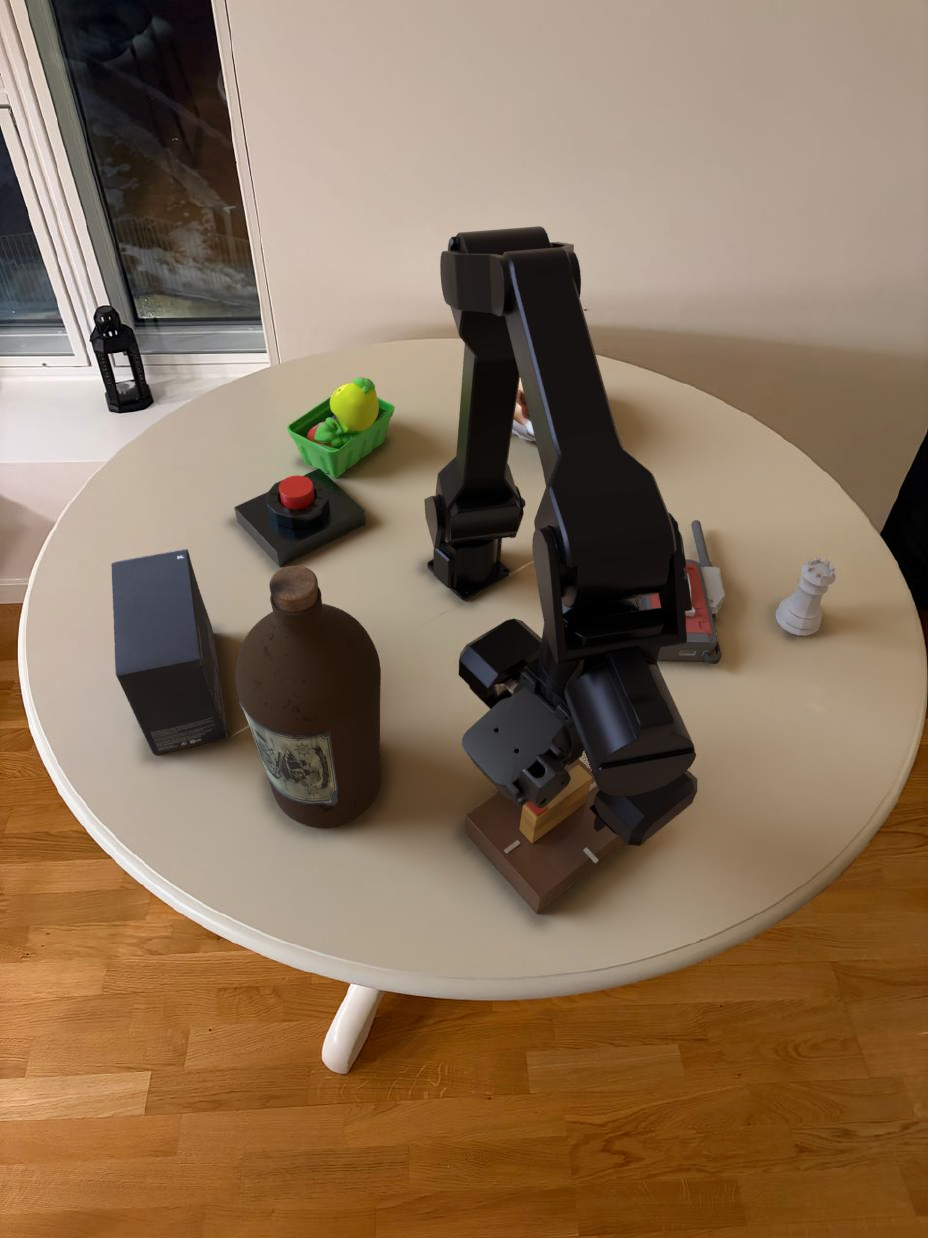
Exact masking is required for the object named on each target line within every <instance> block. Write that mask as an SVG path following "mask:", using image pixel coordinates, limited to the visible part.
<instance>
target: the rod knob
mask: <svg viewBox="0 0 928 1238" xmlns="http://www.w3.org/2000/svg"><path fill="white" fill-rule="evenodd" d="M569 774H570V776H571V780H570V782H569V784H568V785H567V786H566V787H565V788H564V789H563V790H562V791H561V792H560V793H559V794H558V795H557V796H556V797H555V798H554V799H553V800H552V801H551V802H550V803H548V804H547V805H546V806H545V807H543V808H537V807H536V806H535V805H534V804H533V803H532V802H527V803H526V804H525V805H523V808H522V815H521V822H520V828H519V830H520V831H521V832H522V833H523V834H524V835H525V837H526V838H527V839H528V840H529V841H530V842H531V843H534V842H535V841H537V840H538V839H539V838H540V837H542V836H543V835H544V834H546V833H547V832H548V831H550V830H551V829H552V828H554V827H555V826H556V825H558V824H559V823H560V822H562V821H563V820H564V819H565V818H567V817H568V816H569V815H571V814H572V813H573V812H575V811H576V810H577V809H579V808H580V807H581V806H583V805H584V804H585V803H586V801H587V797H588V793H589V789H590V785H591V781H592V776H591V775H590V774H588V773H587V772H586V771H585V770H584V769H583V768H582V767H581V766H580V765H579V764H578V765H577V766H576V767H574V768H573V769H571V770H570V771H569Z"/></svg>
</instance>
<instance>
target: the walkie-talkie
mask: <svg viewBox="0 0 928 1238" xmlns="http://www.w3.org/2000/svg"><path fill="white" fill-rule="evenodd" d="M690 526H691V531H692V535H693V538H694V544H695V547H696V551H697V552H696V553H697V555H698V560H699V562H698V561H696V560H694V559H691V558H689V559H688V558H685V559H686V567H687V574H688V582H689V589H690V597H691V604H692V610H690V611H685V614H686V631H687V642H686V644H680V645H674V646H668V647H661V648H660V652H659V655H658V659H657V661H702V662H703V661H704V662H706V664H709V665H713V666H714V665H717V664H719V663H720V661H721V659H722V651H721V646H720V642H719V637H718V633H717V629H716V625H715V622H716V621H717V617H718V614H719V610H720V609H721V608H722V606H723V603H724V601H725V597H726V592H725V588H724V584H723V581H722V577H721V575H722V570H721V567H720V566H714V565H713V562H712V561H711V559H710V556H709V552H708V548H707V544H706V543H707V542H706V539H705V536H704V532H703V527H702V524H701V521H700V520H698V519H694V520H692V521H691V524H690ZM637 602H638V605H639V608H640V611H641V610H647V609H654V608H661V605H660V600H659V595H658V594H657V595H651V596H644V597H637ZM714 653H715V657H713V656H714Z"/></svg>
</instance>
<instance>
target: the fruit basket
mask: <svg viewBox="0 0 928 1238" xmlns="http://www.w3.org/2000/svg"><path fill="white" fill-rule="evenodd" d="M395 409H396V406H395V405H394V404H392V403H390V402H388V401H385V400H384V399H382V398H380V397H378V395H377V391H376V385H375V383H374V382H373V380H371V379H370V378H367V377H362V376H361V377H360V376H359V377H356V378H355V379H354V380H352V382H348V383H345V384H343V385H341V386H339V387H337V388H336V389H335V390H334V391H333V393H332V394H331V396H329V397H328V398H326V399H324V400H323V401H322V402H321V403H319V404H318V405H316V406H314V407H313V408H312V409H310V410H309V411H307V412H305V413H304V414H303V415H300V417H298V418H296V420H293V421H292V422H291V423H289V424H288V425H287V426H286V431H287V433H288V434H289V436H290V438H292V439H293V442H294V443H295V446H296V447H297V448H296V449H297V450H298V452H299V454H300V456H301V458H302V460H303V462H304V463H305V464H307V465H311V466H312V467H313V468H315V469H316V470H317V469H319V468H320V469H321V470H322V471H323V472H324V473H325V474H327V475H330V476H331V477H332V478H334V479H338V478H339V477H340V476H342V475H343V474H344V473H345V472H346V470H348V469H351V468H352V467H353V466H355V465H356V464H357V463H358V462H359V461H360V460H361V459H363V458H365V457H366V456H368V455H369V454H370V453H372V452H373V450H374V449H376V448H378V447H379V446H381V445H382V444H383V443H384V442H385V439H386V436H387V433H388V432H387V431H388V429H389V425H390V421H391V419H392V417H393V415H394V412H395Z"/></svg>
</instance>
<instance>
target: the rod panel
mask: <svg viewBox="0 0 928 1238" xmlns="http://www.w3.org/2000/svg"><path fill="white" fill-rule="evenodd" d="M578 764H579V765H580V766H581V767H582V768H583V769H584V770H585V771H586V772H587V773H588V774H590V775H591V776H592V781H591V785H590V789H589V793H588V797H587V801H586V803H585V804H584V805H583V806H581V807H580V808H579V809H577V810H576V811H575V812H573V813H572V814H571V815H569V816H568V817H567V818H565V819H564V820H563V821H562V822H560V823H559V824H558V825H556V826H555V827H554V828H552V829H551V830H550V831H548V832H547V833H546V834H544V835H543V836H542V837H540V838H539V839H538V840H537V841H535V842H534V843H531V842H530V841H529V840H528V839H527V838H526V837H525V835H524V834H523V833H522V832H521V831H520V830H519V828H520V822H521V815H522V808H523V806H522V807H519V806H518V805H517V804H516V803H515V802H514V801H513V800H512V799H508V798H506V797H505V796H503V795H502V793H501V792H500V791H499V790H498V791H497V792H496V793H495V794H493V795H492V796H491V797H488V799H486V800H485V801H484V802H482V803H480V804H479V805H478V806H476V807H475V808H474V809H472V810H471V811H470V812H468V813H467V814H466V815H465V821H464V822H465V823H464V834H465V835H466V836H467V837H468V839H470V841H472V843H473V844H474V845H475V846H476V847H477V848H478V850H479V851H480V852H481V853H482V854H483V855H484V856H485V857H486V859H487V860H488V861H489V862H490V863H491V865H493V866H494V868H495V869H496V870H497V871H498V872H499V874H501V876H502V877H503V878H504V879H505V880H506V881H507V883H508V884H509V885H510V886H511V887H512V888H513V889H514V890H515V892H516V893H517V894H518V895H519V896H520V897H521V898H522V899H523V901H524V902H525V903H526V904H527V905H528V906H529V908H530V909H531V910H532V911H533V912H534V913H535V914H536V915H537V914H539V913H540V912H541V911H543V910H544V909H545V908H546V907H548V906H549V905H550V904H551V903H553V902H554V901H555V900H556V899H558V898H559V897H560V896H562V894H564V893H565V892H567V890H568V889H570V888H572V886H574V885H575V884H576V883H578V881H580V880H581V879H583V877H585V876H586V875H587V874H589V872H591V871H592V870H593V869H594V868H596V867H597V866H598V865H600V864H601V863H602V862H603V861H604V860H606V859H607V858H608V857H610V856H611V855H612V854H614V853H615V852H616V851H617V850H618V849H619V848H621V847H622V846H623V845H624V844H626V842H625V841H624V840H623V839H622V838H621V837H620V836H619V835H616V834H614V833H613V832H612V831H611V830H610V829H609V828H608V827H607V826H606V827H604V828H603V829H602V830H600V831H599V832H597V831H596V830H595V829H594V820H595V817H596V815H595V814H594V813H593V812H592V811H591V810H590V809H589V807H591V806H592V805H593V804H594V799H595V795H596V794H597V792H598V791H599V790H600V789H599V788H598V786H597V784H596V782H595V779H594V776H593V773H592V770H591V768H589V767H588V766H587V765H586V764H585V763H584V762H583V761H582V760H581V759H580V758H579V759H577V760H576V761H574V762H573V763H572V764H570V765H569V766H568V765H566V766H565V769H566V770H567V771H568V772H569V771H570V770H571V769H573V768H574V767H576V766H577V765H578Z"/></svg>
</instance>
